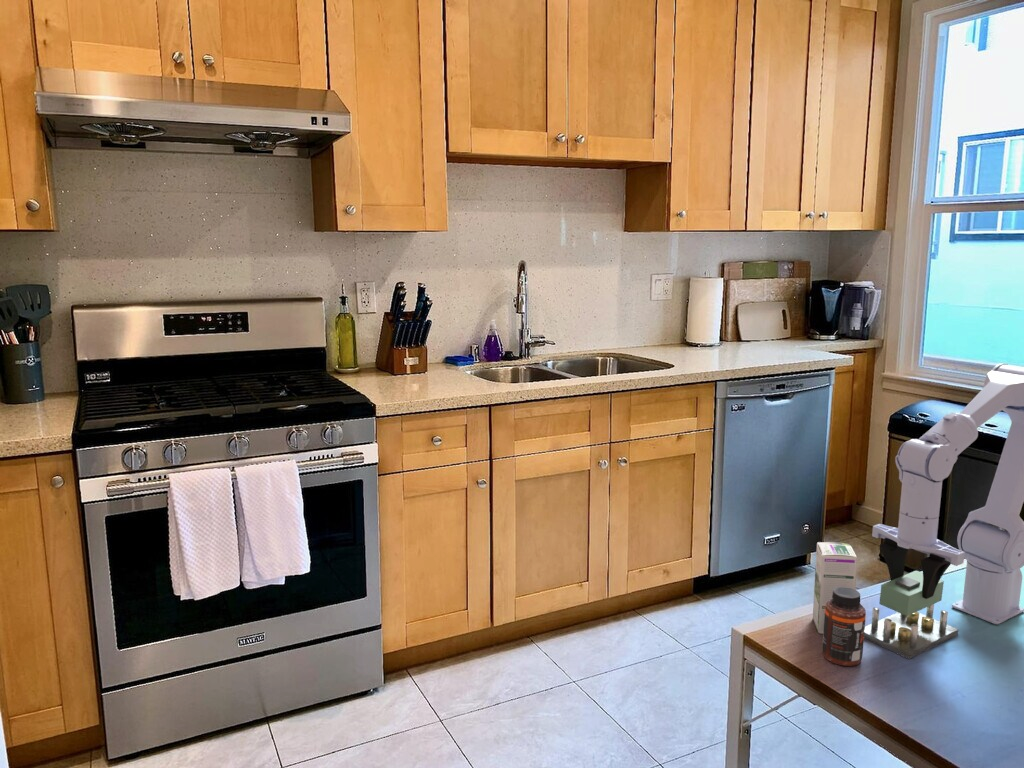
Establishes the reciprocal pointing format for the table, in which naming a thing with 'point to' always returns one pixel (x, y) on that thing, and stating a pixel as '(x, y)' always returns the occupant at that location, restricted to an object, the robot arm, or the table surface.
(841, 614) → the supplement bottle
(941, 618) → the chassis
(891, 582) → the green rectangular block
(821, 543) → the syrup box
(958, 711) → the table surface
